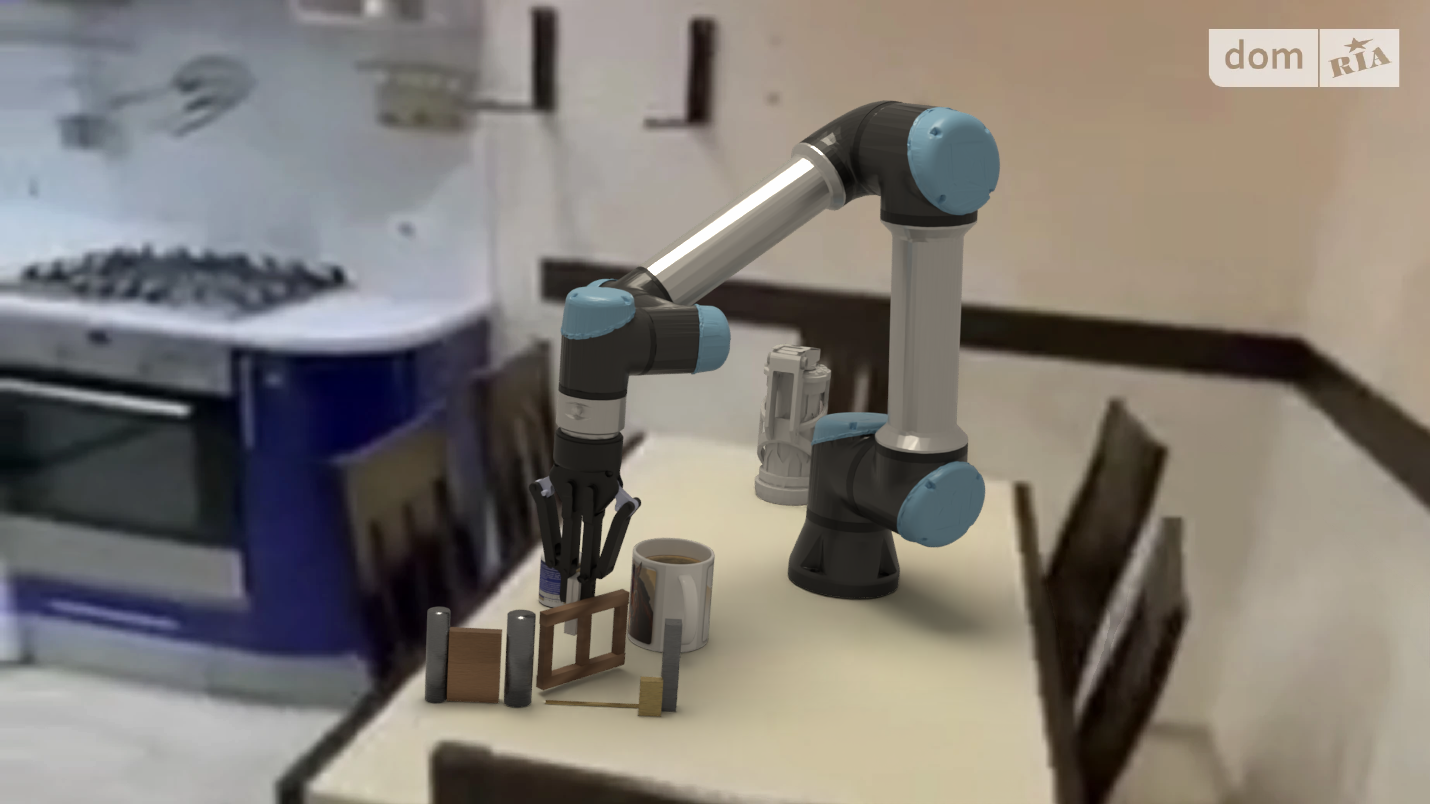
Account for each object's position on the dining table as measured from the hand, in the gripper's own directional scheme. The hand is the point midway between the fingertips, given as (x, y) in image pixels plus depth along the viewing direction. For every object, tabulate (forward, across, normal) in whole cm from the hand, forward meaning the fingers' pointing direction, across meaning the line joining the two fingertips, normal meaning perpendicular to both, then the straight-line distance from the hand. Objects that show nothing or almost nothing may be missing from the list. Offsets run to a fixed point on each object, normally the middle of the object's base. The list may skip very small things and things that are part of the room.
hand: (574, 630), depth 179 cm
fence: (+5, +1, -10) cm, 11 cm away
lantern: (+5, 0, +76) cm, 77 cm away
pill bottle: (+5, -11, +18) cm, 22 cm away
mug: (+5, +6, +13) cm, 16 cm away
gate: (+4, +2, -2) cm, 5 cm away
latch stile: (+5, +13, -5) cm, 14 cm away
